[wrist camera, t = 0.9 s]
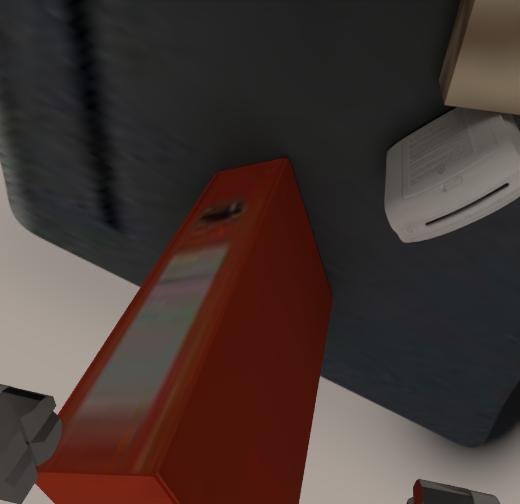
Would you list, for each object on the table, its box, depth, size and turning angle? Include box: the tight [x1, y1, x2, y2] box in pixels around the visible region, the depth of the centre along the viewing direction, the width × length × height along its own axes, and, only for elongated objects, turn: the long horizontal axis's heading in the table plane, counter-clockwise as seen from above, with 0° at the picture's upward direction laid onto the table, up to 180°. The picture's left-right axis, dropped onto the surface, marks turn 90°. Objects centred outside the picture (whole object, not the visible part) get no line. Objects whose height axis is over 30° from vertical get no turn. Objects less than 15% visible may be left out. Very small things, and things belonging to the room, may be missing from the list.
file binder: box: [35, 158, 333, 504], centre depth 39 cm, size 8×17×32 cm, turn 19°
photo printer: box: [384, 107, 520, 243], centre depth 37 cm, size 10×4×12 cm, turn 129°
